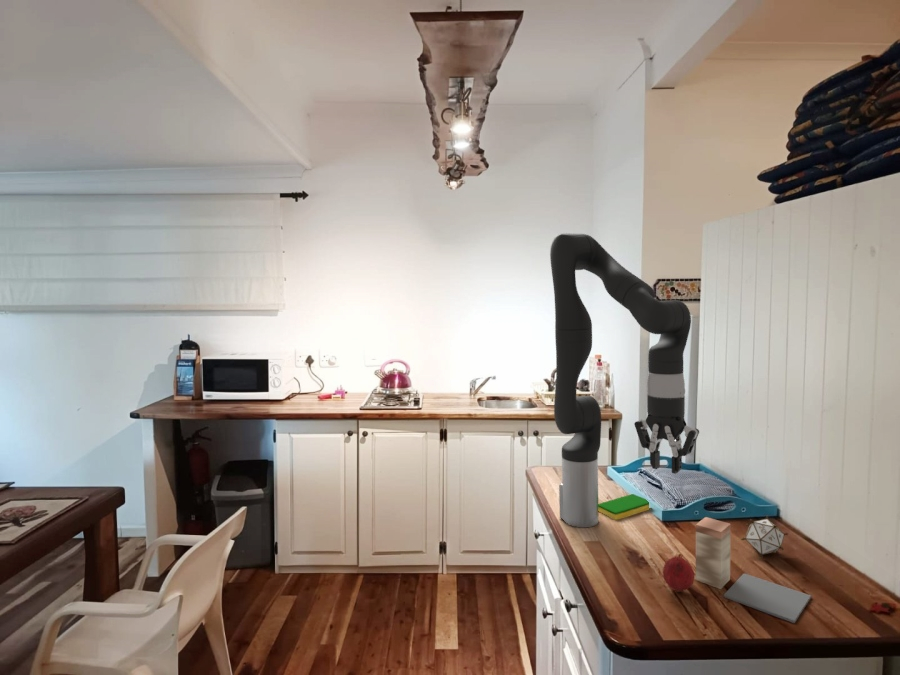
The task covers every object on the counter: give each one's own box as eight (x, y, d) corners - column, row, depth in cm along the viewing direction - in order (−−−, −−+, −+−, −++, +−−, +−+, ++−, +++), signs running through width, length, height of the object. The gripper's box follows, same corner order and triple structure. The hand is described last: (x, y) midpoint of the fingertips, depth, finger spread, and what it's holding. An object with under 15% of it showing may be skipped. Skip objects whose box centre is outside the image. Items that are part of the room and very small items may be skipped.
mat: (723, 597, 104) (723, 594, 104) (743, 575, 112) (743, 573, 112) (794, 623, 96) (794, 620, 96) (810, 597, 103) (810, 595, 103)
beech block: (695, 579, 111) (695, 524, 110) (705, 570, 114) (705, 516, 113) (720, 589, 107) (721, 531, 106) (730, 579, 111) (730, 523, 110)
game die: (773, 572, 120) (800, 550, 113) (735, 556, 121) (759, 534, 114) (769, 538, 126) (793, 515, 120) (733, 524, 128) (755, 501, 121)
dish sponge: (596, 512, 147) (596, 503, 147) (632, 501, 153) (632, 493, 153) (615, 521, 141) (615, 512, 140) (652, 509, 147) (652, 501, 147)
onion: (691, 603, 103) (692, 563, 102) (660, 595, 106) (660, 556, 105) (696, 588, 108) (696, 550, 107) (665, 581, 111) (665, 544, 110)
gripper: (626, 391, 117) (627, 467, 119) (691, 399, 107) (691, 482, 109) (643, 386, 123) (643, 459, 124) (706, 394, 112) (706, 473, 114)
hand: (665, 469), depth 116 cm, fingers open, 3 cm apart
